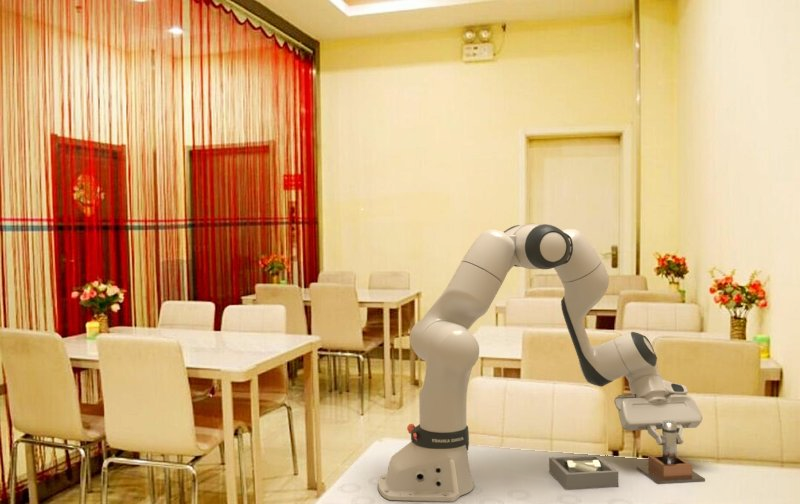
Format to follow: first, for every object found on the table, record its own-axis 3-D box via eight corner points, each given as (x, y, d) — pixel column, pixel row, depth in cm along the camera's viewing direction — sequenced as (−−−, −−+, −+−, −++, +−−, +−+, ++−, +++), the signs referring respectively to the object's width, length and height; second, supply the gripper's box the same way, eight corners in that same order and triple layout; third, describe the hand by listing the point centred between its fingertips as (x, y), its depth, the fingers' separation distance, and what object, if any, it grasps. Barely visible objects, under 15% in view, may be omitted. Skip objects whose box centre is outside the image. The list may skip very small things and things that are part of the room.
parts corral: (566, 489, 146) (566, 474, 146) (549, 471, 157) (549, 457, 157) (618, 486, 147) (618, 471, 147) (597, 468, 159) (597, 455, 159)
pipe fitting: (605, 484, 150) (596, 472, 157) (606, 468, 150) (596, 456, 157) (572, 485, 150) (564, 472, 157) (573, 469, 150) (564, 457, 157)
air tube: (666, 469, 153) (666, 424, 152) (659, 464, 156) (659, 420, 156) (679, 469, 153) (679, 423, 153) (672, 464, 156) (672, 420, 156)
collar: (657, 484, 149) (657, 468, 149) (636, 468, 159) (636, 454, 159) (705, 481, 150) (705, 466, 150) (681, 466, 160) (681, 452, 160)
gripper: (616, 388, 160) (634, 439, 150) (692, 386, 162) (715, 435, 152) (608, 401, 164) (626, 451, 155) (682, 398, 167) (704, 447, 157)
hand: (671, 443), depth 154 cm, fingers closed on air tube, 3 cm apart
